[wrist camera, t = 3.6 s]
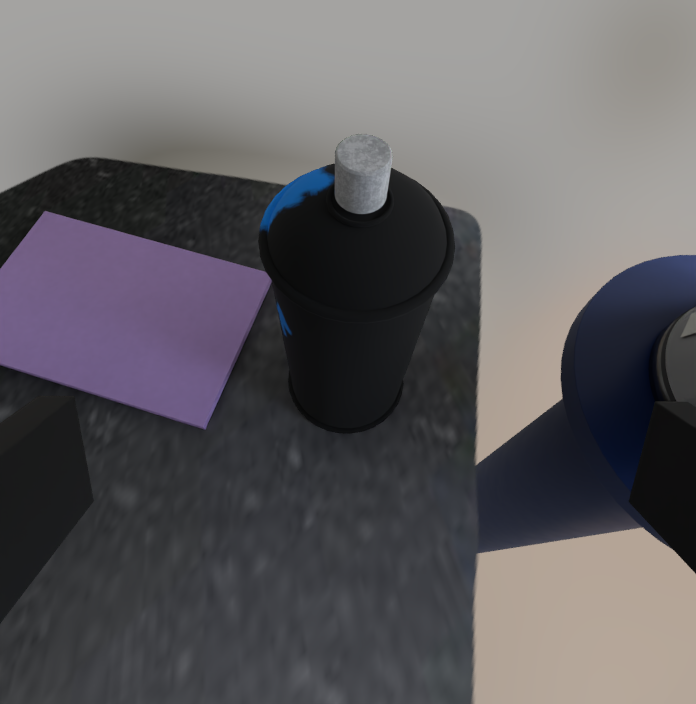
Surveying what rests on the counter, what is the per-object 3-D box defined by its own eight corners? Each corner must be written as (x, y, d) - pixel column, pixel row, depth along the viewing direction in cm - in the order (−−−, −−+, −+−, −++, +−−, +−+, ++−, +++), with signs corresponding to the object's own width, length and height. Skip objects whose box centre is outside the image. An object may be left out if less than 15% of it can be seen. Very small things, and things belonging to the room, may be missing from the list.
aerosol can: (421, 359, 35) (520, 124, 17) (369, 456, 31) (422, 295, 13) (325, 311, 36) (320, 47, 18) (266, 398, 33) (189, 184, 15)
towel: (273, 278, 37) (272, 273, 37) (205, 429, 32) (203, 427, 31) (48, 215, 39) (44, 210, 39) (-53, 348, 34) (-59, 345, 33)
